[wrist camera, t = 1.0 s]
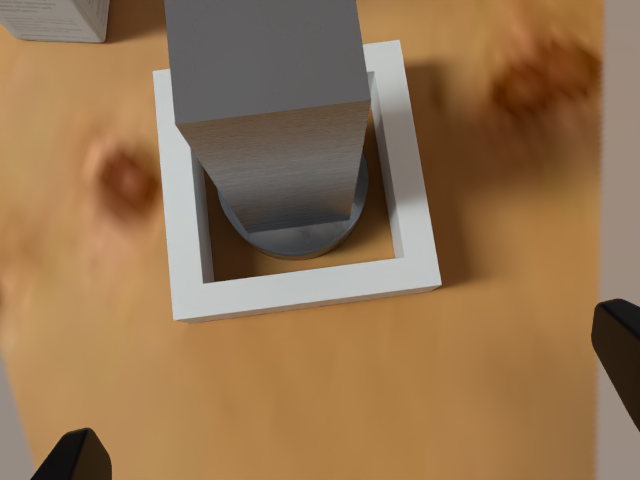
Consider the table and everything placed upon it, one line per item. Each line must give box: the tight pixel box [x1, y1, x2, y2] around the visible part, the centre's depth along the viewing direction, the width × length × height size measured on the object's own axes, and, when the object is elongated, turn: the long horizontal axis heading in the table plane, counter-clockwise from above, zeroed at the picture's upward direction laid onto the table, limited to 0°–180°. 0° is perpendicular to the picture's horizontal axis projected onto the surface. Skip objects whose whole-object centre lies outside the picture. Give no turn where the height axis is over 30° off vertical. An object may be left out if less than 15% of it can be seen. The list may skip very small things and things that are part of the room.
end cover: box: [164, 0, 371, 261], centre depth 19 cm, size 6×6×13 cm
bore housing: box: [153, 40, 442, 323], centre depth 24 cm, size 10×10×2 cm
